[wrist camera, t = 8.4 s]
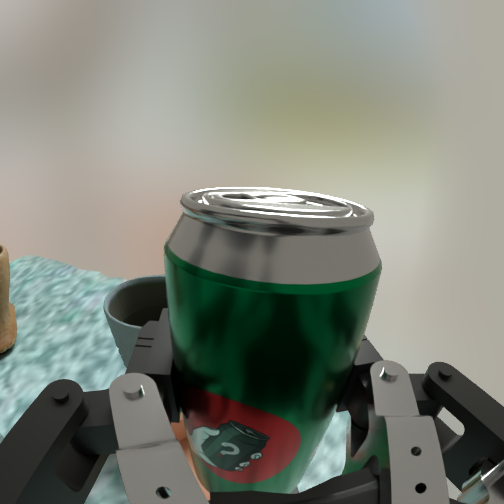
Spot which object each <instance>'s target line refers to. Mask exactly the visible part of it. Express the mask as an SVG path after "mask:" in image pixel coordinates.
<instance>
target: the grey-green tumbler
mask: <svg viewBox="0 0 504 504" xmlns="http://www.w3.org/2000/svg"><path fill="white" fill-rule="evenodd" d="M103 308H104V312H105V315H106V318H107V321H108V324H109V326H110V329H111V332H112V334H113V337H114V339H115V343H116V346H117V347H118V348H119V353H120V355H121V358H122V360H123V362H124V365H125V366H126V367H128V364H129V361H130V358H131V355H132V352H133V349H134V347H135V344H136V341H137V339H138V335H139V333H140V330H141V328H142V327H143V326H144V325H145V324H146V323H147V322H148V321H159V319H160V316H161V313H162V310H163V308H168V307H167V295H166V282H165V275H152V276H143V277H139V278H135V279H132V280H129V281H126V282H124V283H122V284H120V285H118V286H117V287H115V288H114V289H112V290H111V291H110V292H109V293H108V295H107V296H106V298H105V301H104V307H103ZM180 412H182V410H181V411H180Z"/></svg>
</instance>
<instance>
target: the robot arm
mask: <svg viewBox="0 0 504 504" xmlns="http://www.w3.org/2000/svg"><path fill="white" fill-rule="evenodd" d="M443 407H445V408H446V409H447V410H448V411H449V412H450V413H451V414H452V415H454V416H455V417H456V418H457V419H458V420H459V421H460V422H461V423H462V424H463V425H464V428H465V431H464V434H463V435H461V436H460V435H457V434H456V433H455V432H453V431H452V430H451V429H450V428H449V427H448V426H447V425H446V424H445V423H444V422H443V421H442V420H441V419H439V418H438V417H437V415H438V414H439V413H440V411H441V410H442V408H443ZM347 410H348V411H349V413H350V415H349V417H348V420H347V439H346V462H345V467H344V470H343V472H342V475H340V476H336V477H333V478H331V479H329V480H327V481H325V482H323V483H321V484H319V485H317V486H315V487H312V488H310V489H308V490H306V491H303V492H301V493H297V494H288V493H272V492H262V491H253V490H252V491H235V492H210V500H207V498H206V496H205V494H204V493H203V491H202V489H201V487H200V485H199V483H198V481H197V479H196V477H195V475H194V473H193V471H192V469H191V467H190V465H189V463H188V460H187V458H186V456H185V454H184V452H183V449H182V447H181V445H180V443H179V441H178V439H176V437H175V435H174V432H173V430H172V427H171V422H172V423H180V411H181V405H180V399H179V394H178V388H177V381H176V375H175V368H174V361H173V353H172V345H171V337H170V328H169V318H168V308H163V310H162V313H161V316H160V319H159V321H148V322H147V323H146V324H145V325H144V326H143V327H142V328H141V330H140V333H139V335H138V339H137V341H136V344H135V347H134V349H133V352H132V355H131V358H130V361H129V364H128V367H127V370H126V373H125V374H124V375H121V376H119V377H118V378H116V379H115V380H114V381H113V382H112V383H111V385H110V388H109V389H106V390H100V391H90V392H83V390H82V388H81V387H80V385H79V384H78V383H76V382H74V381H72V380H68V379H61V380H57V381H54V382H52V383H50V384H49V385H48V386H47V387H46V388H45V389H44V390H43V391H42V392H41V393H40V395H39V396H38V397H37V398H36V399H35V400H34V402H33V403H32V404H31V405H30V406H29V408H28V409H27V410H26V411H25V413H24V414H23V415H22V416H21V417H20V419H19V420H18V421H17V422H16V424H15V425H14V426H13V428H12V429H11V430H10V431H9V433H8V434H7V435H6V437H5V438H3V436H2V435H1V434H0V504H84V503H85V501H86V499H87V497H88V495H89V493H90V491H91V489H92V487H93V485H94V483H95V481H96V479H97V477H98V475H99V473H100V471H101V469H102V467H103V466H104V464H105V462H106V460H107V458H108V456H109V454H115V453H116V455H117V461H118V465H119V469H120V472H121V476H122V480H123V483H124V487H125V490H126V493H127V496H128V499H129V502H130V504H504V407H503V406H502V405H501V404H499V403H498V402H497V401H496V400H494V399H493V398H492V397H491V396H489V395H488V394H487V393H486V392H485V391H483V390H482V389H481V388H480V387H478V386H477V385H476V384H474V383H473V382H472V381H471V380H469V379H468V378H467V377H466V376H464V375H463V374H462V373H460V372H459V371H458V370H457V369H455V368H454V367H452V366H451V365H449V364H447V363H444V362H435V363H432V364H431V365H430V366H429V367H428V369H427V371H426V373H425V374H408V372H407V370H406V369H405V368H404V367H403V366H402V365H400V364H398V363H396V362H393V361H388V360H383V358H382V357H381V356H380V354H379V353H378V352H377V350H376V349H375V348H374V346H373V345H372V344H371V343H370V341H369V340H367V338H366V336H365V335H364V336H363V339H362V342H361V346H360V349H359V351H358V354H357V357H356V360H355V363H354V366H353V368H352V371H351V374H350V377H349V379H348V382H347V384H346V387H345V389H344V392H343V394H342V397H341V399H340V402H339V404H338V406H337V409H336V412H342V411H347ZM446 477H447V478H448V479H449V480H450V481H451V482H452V483H453V484H454V485H455V486H456V487H457V488H458V489H459V490H460V491H461V492H462V493H461V494H460V495H459V496H458V498H457V500H454V499H451V498H449V494H448V487H447V480H446Z"/></svg>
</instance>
